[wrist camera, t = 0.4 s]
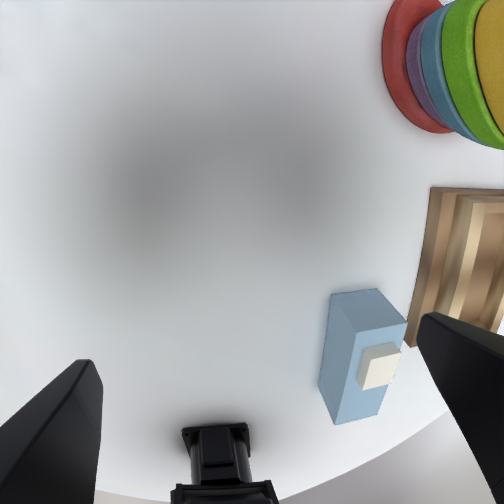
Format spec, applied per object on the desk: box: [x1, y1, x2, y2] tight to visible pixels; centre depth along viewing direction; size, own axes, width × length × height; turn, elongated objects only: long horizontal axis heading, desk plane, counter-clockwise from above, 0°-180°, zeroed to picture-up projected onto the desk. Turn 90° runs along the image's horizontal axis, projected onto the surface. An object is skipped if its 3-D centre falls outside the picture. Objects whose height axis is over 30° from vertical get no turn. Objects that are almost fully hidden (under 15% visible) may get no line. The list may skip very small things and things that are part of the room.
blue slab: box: [318, 289, 408, 425], centre depth 23 cm, size 10×4×6 cm, turn 1°
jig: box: [403, 188, 504, 348], centre depth 23 cm, size 14×12×4 cm
